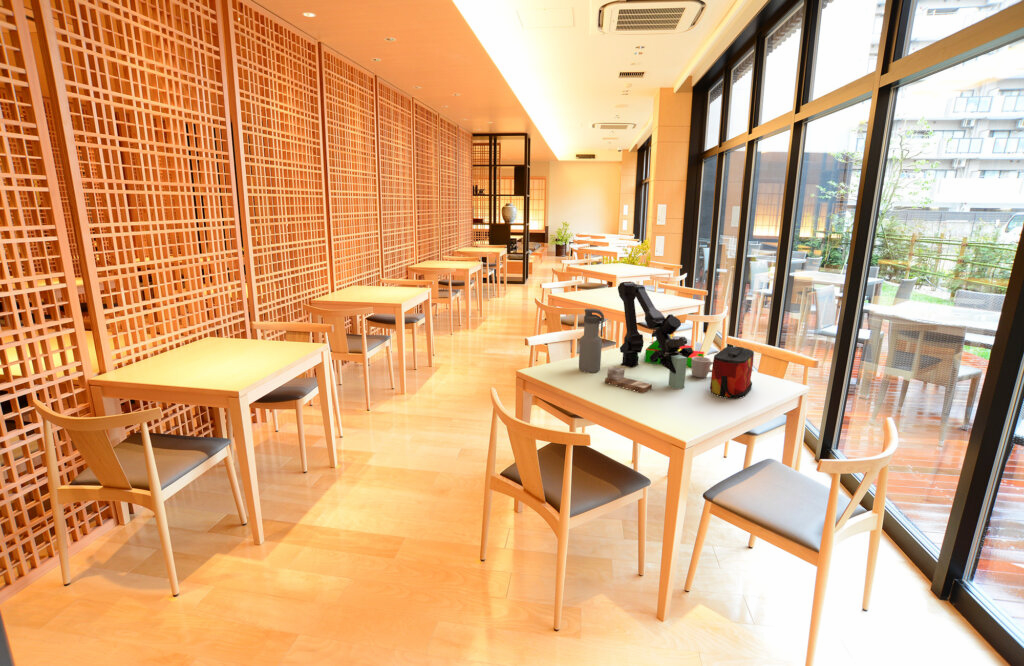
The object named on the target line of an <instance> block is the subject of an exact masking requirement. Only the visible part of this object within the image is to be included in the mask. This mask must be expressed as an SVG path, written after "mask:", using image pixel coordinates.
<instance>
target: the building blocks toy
mask: <svg viewBox="0 0 1024 666" xmlns="http://www.w3.org/2000/svg"><path fill="white" fill-rule="evenodd" d="M670 336H671V338H672V339H674V338H673V334H671V335H670ZM658 346H659V343H658V341H657V339H656V340H654V341H652V343H651V344H650V345H649V346H648V347H647V348H645V352H644V353H645V355H644V363H647V362H649V363H648V364H655V363H657V364H656V365H660V364H659V361H660V359H659V358H658V361H657V362H654V363H652V362H651V360H650V356H651V355H652V354H653V353H654V352H655V351H658V350H661V348H658ZM687 347H690V348H692V350H693V349H694V348H693V347H694V345H687V344H685V346H681V347H680V349H679V350H677V352H678V351H680V350H681V349H683V348H687ZM692 357H705V351H701V350H693V353H692V354H691V355H690V356H689V357H688V358H687V364H686V366H688V367H687V368H692Z"/></svg>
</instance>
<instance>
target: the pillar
mask: <svg viewBox="0 0 1024 666" xmlns="http://www.w3.org/2000/svg"><path fill="white" fill-rule="evenodd" d="M671 361H672V363H673V366H674V368H675V371H676V373H675V374H674V373H673V372H671V371H670V370H669V374H668V386H667V387H670V388H672V389H673V390H674V389H675V390H678V389H685V382H686V373H687V372H686V371H687V367H686V364H687V357H684V356H681V355H674V356H671Z"/></svg>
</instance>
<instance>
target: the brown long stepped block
mask: <svg viewBox="0 0 1024 666" xmlns="http://www.w3.org/2000/svg"><path fill="white" fill-rule="evenodd" d="M606 375H607V377H606V378H604V383H605V382H606V383H605V384H607V383H610V384H609V385H611V384H613V385H612V386H614V385H617V386H616V387H618V386H621V387H620V388H622V387H624V388H623V389H626V388H628V389H627V390H629V389H631V391H633V390H635V391H634V392H637V391H638V393H641V392H642V394H644V392H645V393H647V392H648V390H649V391H650V390H652V389H653V384H652V383H647V382H643V381H639V380H635V379H632V378H628V377H625V369H624V368H620V367H617V366H612V367H609V368H607V374H606ZM646 391H647V392H646Z"/></svg>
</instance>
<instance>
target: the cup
mask: <svg viewBox="0 0 1024 666" xmlns="http://www.w3.org/2000/svg"><path fill="white" fill-rule="evenodd" d="M712 365H713V360H711V359H710V358H708V357H705V356H704V357H692V367H691V375H692V376H693V377H695V378H700V379H702V378H706V377H707V376H708V374H709V373H712V369H711V366H712Z"/></svg>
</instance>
